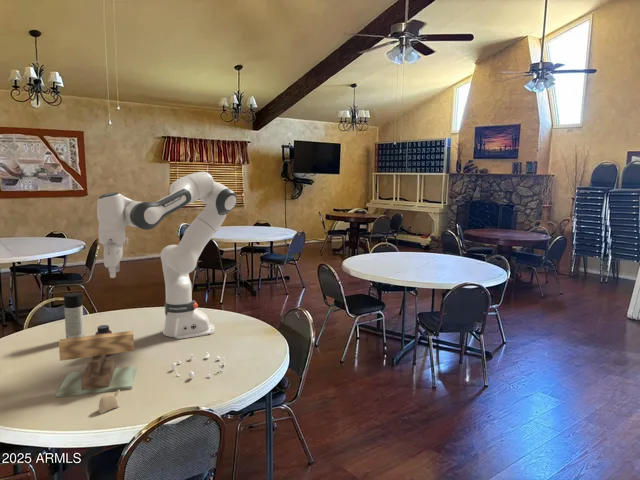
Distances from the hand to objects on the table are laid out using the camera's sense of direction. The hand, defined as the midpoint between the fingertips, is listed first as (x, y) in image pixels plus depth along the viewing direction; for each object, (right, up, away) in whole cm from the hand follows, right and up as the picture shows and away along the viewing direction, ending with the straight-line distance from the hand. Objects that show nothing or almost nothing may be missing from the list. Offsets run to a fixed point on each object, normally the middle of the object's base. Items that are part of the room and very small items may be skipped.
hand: (114, 274), depth 162 cm
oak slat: (+1, -26, -15) cm, 29 cm away
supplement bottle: (-9, -32, +10) cm, 35 cm away
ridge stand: (+1, -35, -13) cm, 38 cm away
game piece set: (+31, -35, 0) cm, 47 cm away
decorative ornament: (+12, -38, -30) cm, 50 cm away
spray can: (-28, -30, +23) cm, 47 cm away
